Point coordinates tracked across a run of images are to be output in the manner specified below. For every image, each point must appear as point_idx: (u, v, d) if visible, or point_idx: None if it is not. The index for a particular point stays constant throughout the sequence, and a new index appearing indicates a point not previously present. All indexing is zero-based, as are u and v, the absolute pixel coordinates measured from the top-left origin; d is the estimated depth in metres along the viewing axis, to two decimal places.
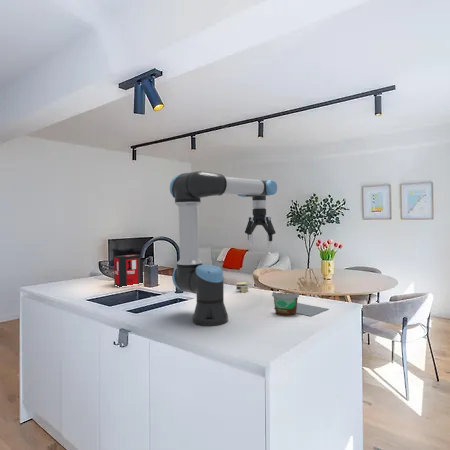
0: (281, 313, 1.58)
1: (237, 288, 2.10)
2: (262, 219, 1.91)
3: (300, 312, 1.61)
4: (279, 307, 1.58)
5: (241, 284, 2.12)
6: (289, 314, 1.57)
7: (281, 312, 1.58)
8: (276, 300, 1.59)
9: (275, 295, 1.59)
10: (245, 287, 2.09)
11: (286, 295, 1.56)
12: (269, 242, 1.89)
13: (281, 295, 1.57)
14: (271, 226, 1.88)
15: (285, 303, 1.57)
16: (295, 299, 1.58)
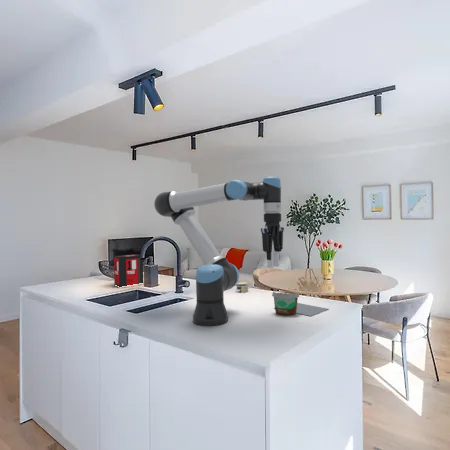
0: (281, 313, 1.58)
1: None
2: None
3: (300, 312, 1.61)
4: (279, 307, 1.58)
5: (241, 284, 2.12)
6: (289, 314, 1.57)
7: (281, 312, 1.58)
8: (276, 300, 1.59)
9: (275, 295, 1.59)
10: (245, 287, 2.09)
11: (286, 295, 1.56)
12: (269, 261, 1.51)
13: (281, 295, 1.57)
14: (264, 241, 1.49)
15: (285, 303, 1.57)
16: (295, 299, 1.58)
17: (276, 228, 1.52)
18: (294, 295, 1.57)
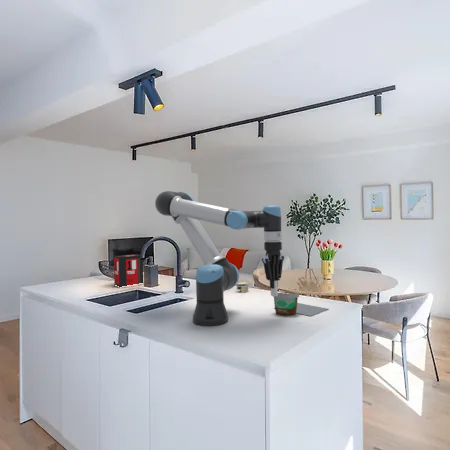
0: (281, 313, 1.58)
1: None
2: None
3: (300, 312, 1.61)
4: (279, 307, 1.58)
5: (241, 284, 2.12)
6: (289, 314, 1.57)
7: (281, 312, 1.58)
8: (276, 300, 1.59)
9: None
10: (245, 287, 2.09)
11: (286, 295, 1.56)
12: (272, 289, 1.53)
13: (281, 295, 1.57)
14: (266, 271, 1.50)
15: (285, 303, 1.57)
16: (295, 299, 1.58)
17: (277, 256, 1.52)
18: (294, 295, 1.57)
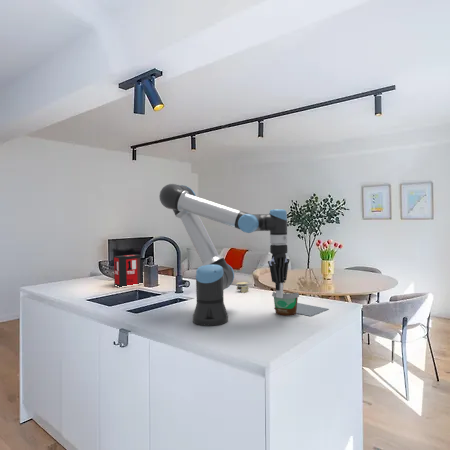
0: (281, 313, 1.58)
1: None
2: None
3: (300, 312, 1.61)
4: (279, 307, 1.58)
5: (241, 284, 2.12)
6: (289, 314, 1.57)
7: (281, 312, 1.58)
8: (276, 300, 1.59)
9: (275, 295, 1.59)
10: (246, 287, 2.09)
11: (286, 295, 1.56)
12: (277, 291, 1.56)
13: None
14: (272, 273, 1.53)
15: (285, 303, 1.57)
16: (295, 299, 1.58)
17: (282, 259, 1.55)
18: (294, 295, 1.57)
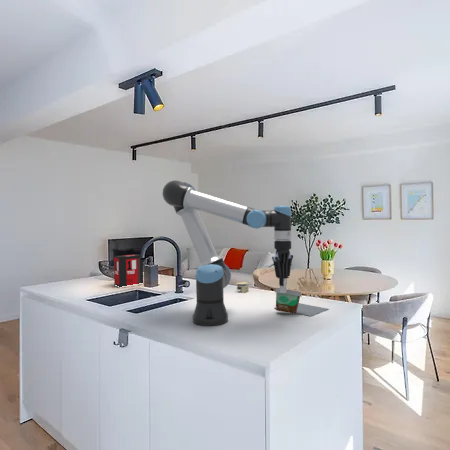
0: (282, 309, 1.58)
1: (238, 288, 2.10)
2: None
3: (300, 312, 1.61)
4: (280, 303, 1.59)
5: (241, 284, 2.12)
6: (289, 311, 1.57)
7: (282, 308, 1.58)
8: (278, 296, 1.60)
9: (278, 290, 1.61)
10: (246, 287, 2.09)
11: (289, 291, 1.58)
12: (281, 287, 1.58)
13: None
14: (276, 269, 1.55)
15: (287, 299, 1.58)
16: (297, 297, 1.59)
17: (286, 255, 1.57)
18: (297, 293, 1.59)
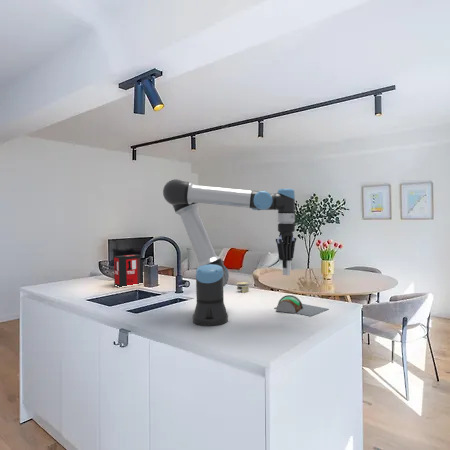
0: (283, 300, 1.63)
1: (238, 288, 2.10)
2: None
3: (300, 312, 1.61)
4: (283, 299, 1.66)
5: (242, 284, 2.12)
6: (290, 302, 1.62)
7: (283, 300, 1.64)
8: (281, 299, 1.69)
9: None
10: (246, 287, 2.09)
11: None
12: (284, 269, 1.60)
13: None
14: (280, 251, 1.57)
15: (289, 298, 1.67)
16: (299, 303, 1.66)
17: (289, 237, 1.59)
18: (299, 300, 1.68)
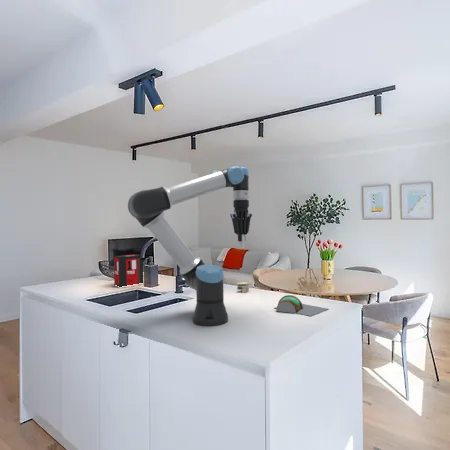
0: (283, 301, 1.63)
1: (238, 288, 2.10)
2: None
3: (300, 312, 1.61)
4: (283, 299, 1.66)
5: (242, 284, 2.12)
6: (290, 302, 1.62)
7: (283, 300, 1.64)
8: (281, 299, 1.69)
9: None
10: (246, 287, 2.09)
11: None
12: (240, 242, 1.71)
13: None
14: (234, 225, 1.68)
15: (289, 298, 1.67)
16: (299, 303, 1.66)
17: (244, 213, 1.71)
18: (299, 300, 1.68)
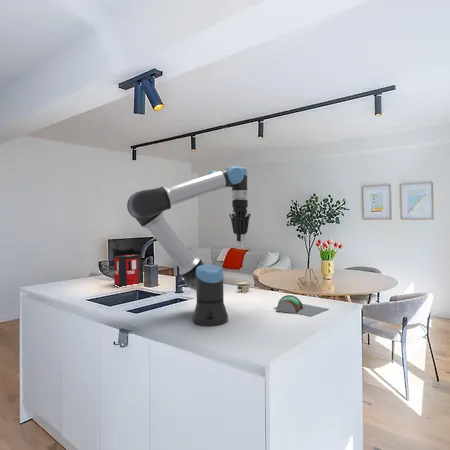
0: (283, 301, 1.63)
1: None
2: None
3: (300, 312, 1.61)
4: (283, 299, 1.66)
5: (242, 284, 2.12)
6: (290, 302, 1.62)
7: (283, 300, 1.64)
8: (281, 299, 1.69)
9: None
10: (246, 287, 2.09)
11: None
12: (239, 242, 1.72)
13: None
14: (233, 225, 1.69)
15: (289, 298, 1.67)
16: (299, 303, 1.66)
17: (243, 213, 1.71)
18: (299, 300, 1.68)
